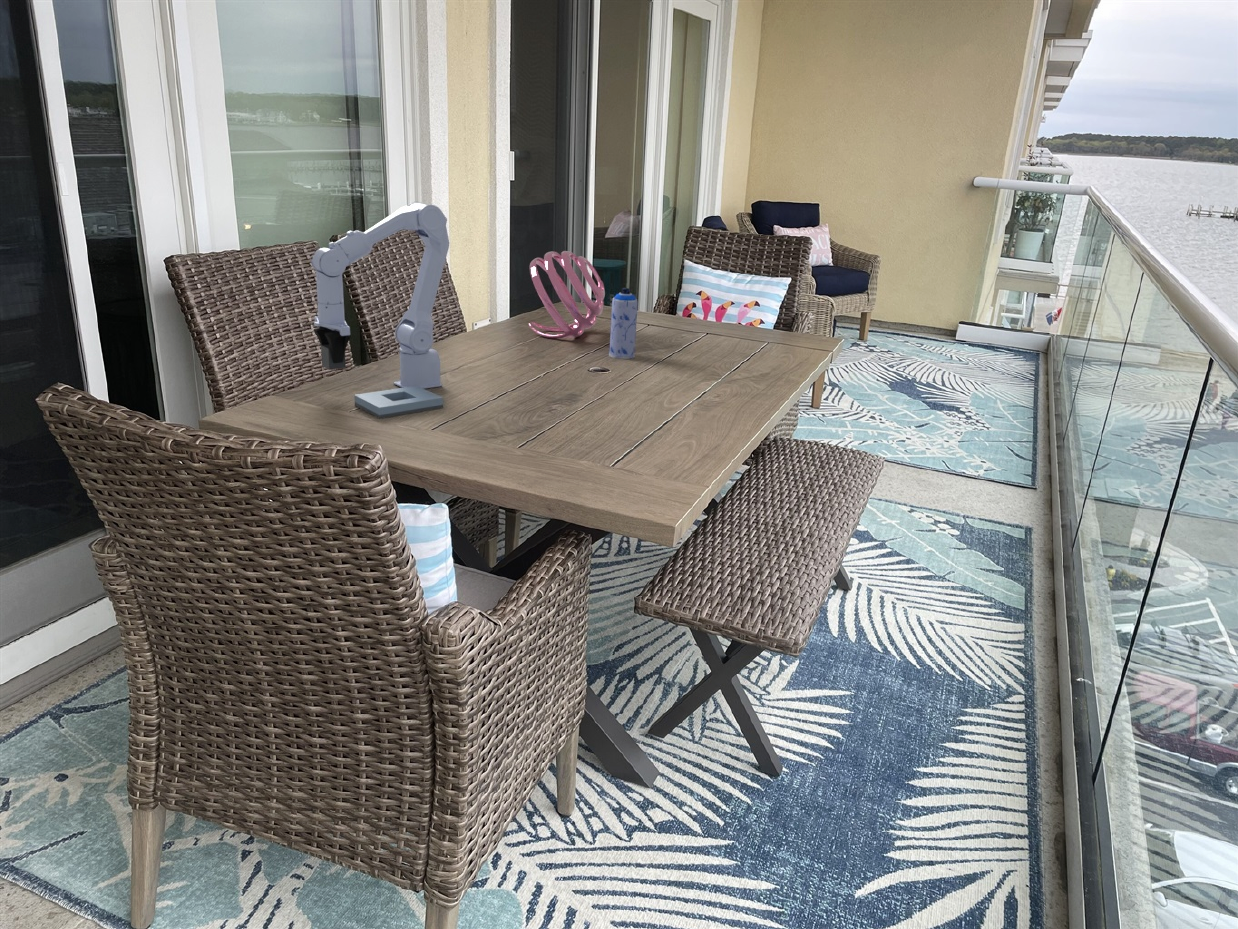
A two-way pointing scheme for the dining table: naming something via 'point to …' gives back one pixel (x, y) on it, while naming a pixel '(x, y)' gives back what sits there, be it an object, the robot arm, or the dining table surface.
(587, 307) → the spiral basket
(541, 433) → the dining table surface
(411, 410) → the pale blue socket slab
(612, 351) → the aerosol can
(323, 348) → the plug
